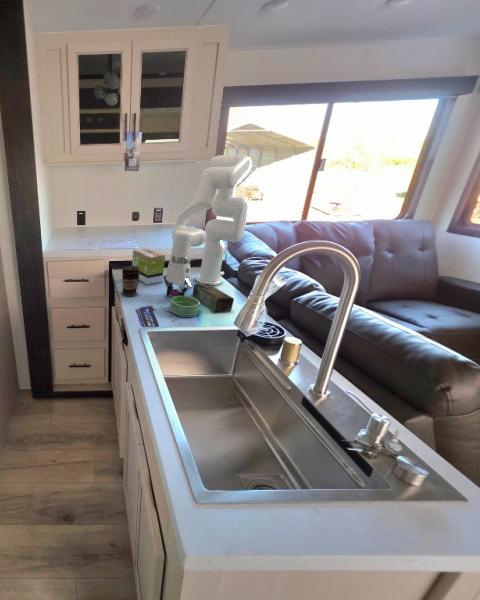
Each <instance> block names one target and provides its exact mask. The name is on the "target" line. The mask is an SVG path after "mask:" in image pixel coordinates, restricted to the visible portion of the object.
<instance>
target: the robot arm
mask: <svg viewBox="0 0 480 600" xmlns="http://www.w3.org/2000/svg"><path fill="white" fill-rule="evenodd" d="M208 165H209V166H208V168H205V169H204V170H203V171H202V174H201V176H200V179H199V182H198V185H197V188H196V190H195V194H194V197H193V199H192V202H191V203H190V204H189V205H187V206H186V207H185V208H184V209H183V210H182V211H181V212H180V213H179V215H178V216H177V218H176V220H175V223H174V225H173V229H172V234H171V236H172V237H171V238H172V244H171V245H172V247H171V252H170V253H171V254H170V260H169V262H168V266H167V269H166V274H165V275H163V280H164V283H165V286H166V296H171V295H170V293H171V291H172V290H173V289H174V286H173V285H175V286H178V287H179V288H178V290H179V291H180V292H179V294H178V296H185V293H186V292H187V291H189V290H191V288H193V286H192V284H191V259H190V254H191V248H192V247H200V246H202V245H203V244H204V246H203V252H202V257H201V258H202V259H201V265H200V271H199V275H197V276H196V277H195V281H196V282H197V283H201V284H205V283H209V284H210V285H212V286H219V285H221V284H222V282H223V280H222V279H221V276H224V275H225V272H224V271H221V270H222V264H223V260H224V259H223V258H224V254H225V244H224V242H228V243H238V242H240V241H241V240H242V238H243V236H244V234H245V229H246V225H247V220H248V216H249V211H250V201H249V199H248V198H246V197H244V196H235V191H236V186H237V185H238V184H239V183H240V182H241V181H242V180H243V179H244V178H245V177H246V176H247V175H248V174H249V172H250V171H251V168H252V159H251V157H250V156H249V155H247V154H221V155H220V154H219V155H215V156H213V157H212V158H210V160H209V163H208ZM210 209H211V213H212V215H213V216H216V217H220V219H219V218H213V219H210V220H208V221H207V222H206V224H205V226H204V230H203V229H202V228H197V227H191V226H186V225H187V222H188V220H189V219H190V218H192V217H193V216H195V215H198V214H200V213H202V212H205V211H208V210H210ZM221 218H229V219H232V220H228V219H221Z"/></svg>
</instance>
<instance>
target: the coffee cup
mask: <svg viewBox="0 0 480 600" xmlns="http://www.w3.org/2000/svg"><path fill="white" fill-rule="evenodd" d="M121 274H122V275H121V276H122V277H121V278H122V279H121V281H122V294H123V295H124V296H129V297H134V296H136V295H138V293H137V290H138V286H139V281H140V280H139V274H140V270H139V267H136V266H132V265H128V266H124V267H123V268H122V272H121Z"/></svg>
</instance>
